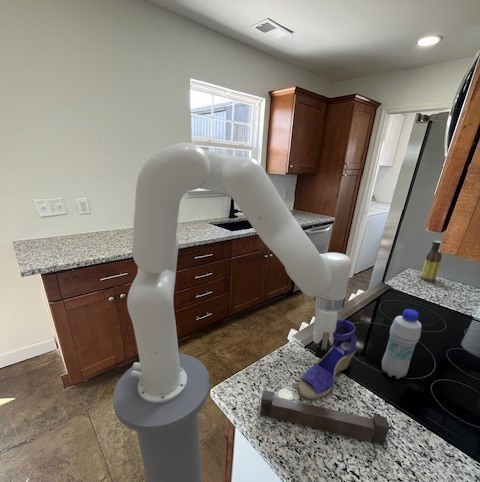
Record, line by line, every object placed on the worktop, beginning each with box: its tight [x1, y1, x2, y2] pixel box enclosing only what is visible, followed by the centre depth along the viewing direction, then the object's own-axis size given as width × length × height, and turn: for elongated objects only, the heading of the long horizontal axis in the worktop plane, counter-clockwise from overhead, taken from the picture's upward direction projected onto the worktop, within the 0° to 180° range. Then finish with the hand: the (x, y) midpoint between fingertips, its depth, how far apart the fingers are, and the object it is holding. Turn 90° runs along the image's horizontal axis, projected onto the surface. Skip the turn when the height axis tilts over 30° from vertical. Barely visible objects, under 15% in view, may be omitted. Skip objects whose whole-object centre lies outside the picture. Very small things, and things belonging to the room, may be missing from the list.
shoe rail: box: [260, 389, 390, 446], centre depth 58 cm, size 26×2×5 cm, turn 75°
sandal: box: [298, 319, 357, 401], centre depth 68 cm, size 8×20×15 cm, turn 120°
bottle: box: [381, 308, 423, 380], centre depth 70 cm, size 7×7×20 cm
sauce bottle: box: [420, 240, 443, 283], centre depth 129 cm, size 7×6×20 cm
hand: (320, 355), depth 76 cm, fingers closed
